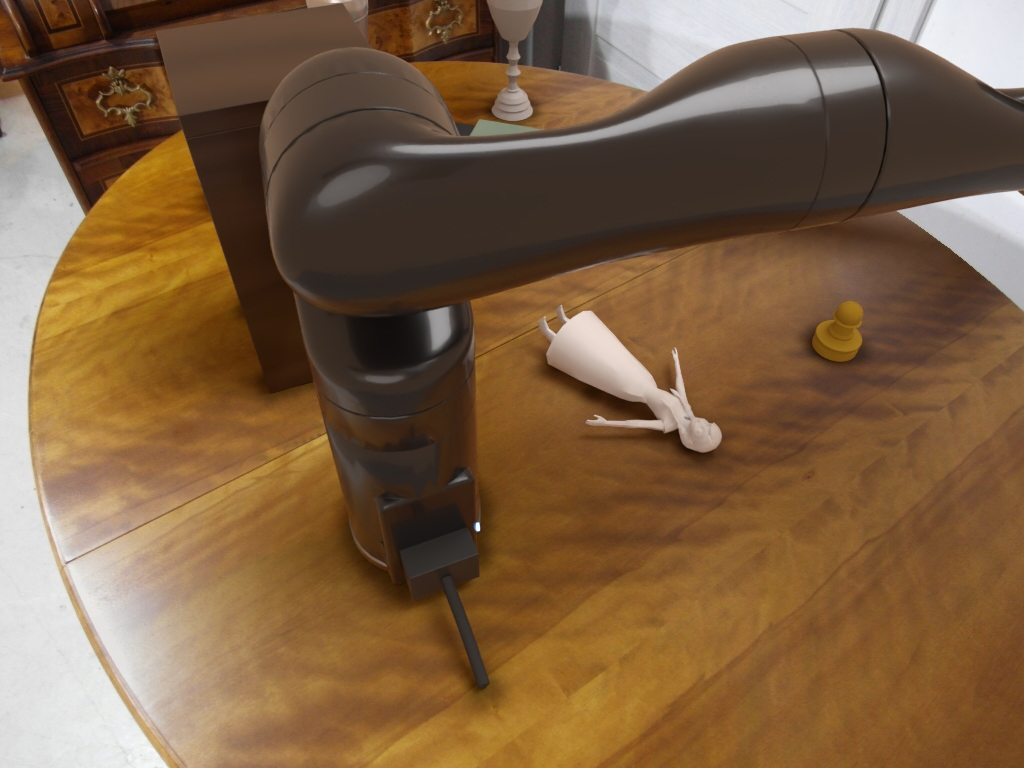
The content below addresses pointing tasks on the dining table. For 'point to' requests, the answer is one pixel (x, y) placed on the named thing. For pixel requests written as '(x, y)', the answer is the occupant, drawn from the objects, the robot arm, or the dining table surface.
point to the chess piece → (840, 333)
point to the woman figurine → (624, 378)
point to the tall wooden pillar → (248, 152)
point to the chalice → (513, 53)
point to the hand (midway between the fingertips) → (700, 90)
